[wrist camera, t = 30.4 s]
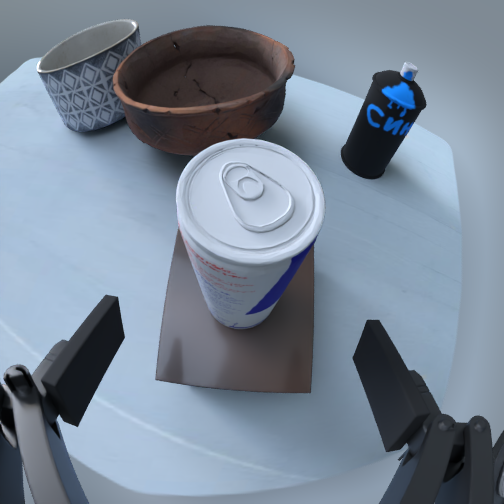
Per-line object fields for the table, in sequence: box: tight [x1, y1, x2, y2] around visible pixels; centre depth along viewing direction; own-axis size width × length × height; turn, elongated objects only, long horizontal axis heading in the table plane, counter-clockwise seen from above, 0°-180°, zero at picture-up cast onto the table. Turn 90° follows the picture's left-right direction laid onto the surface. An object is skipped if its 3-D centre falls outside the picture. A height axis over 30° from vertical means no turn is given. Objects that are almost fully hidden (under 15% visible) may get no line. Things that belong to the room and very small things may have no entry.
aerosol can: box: [341, 62, 426, 179], centre depth 34 cm, size 8×8×20 cm
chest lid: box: [155, 226, 314, 393], centre depth 24 cm, size 16×13×1 cm
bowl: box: [113, 25, 295, 156], centre depth 37 cm, size 25×25×15 cm
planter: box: [37, 19, 141, 132], centre depth 39 cm, size 19×19×16 cm
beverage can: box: [176, 138, 326, 329], centre depth 17 cm, size 6×6×15 cm
